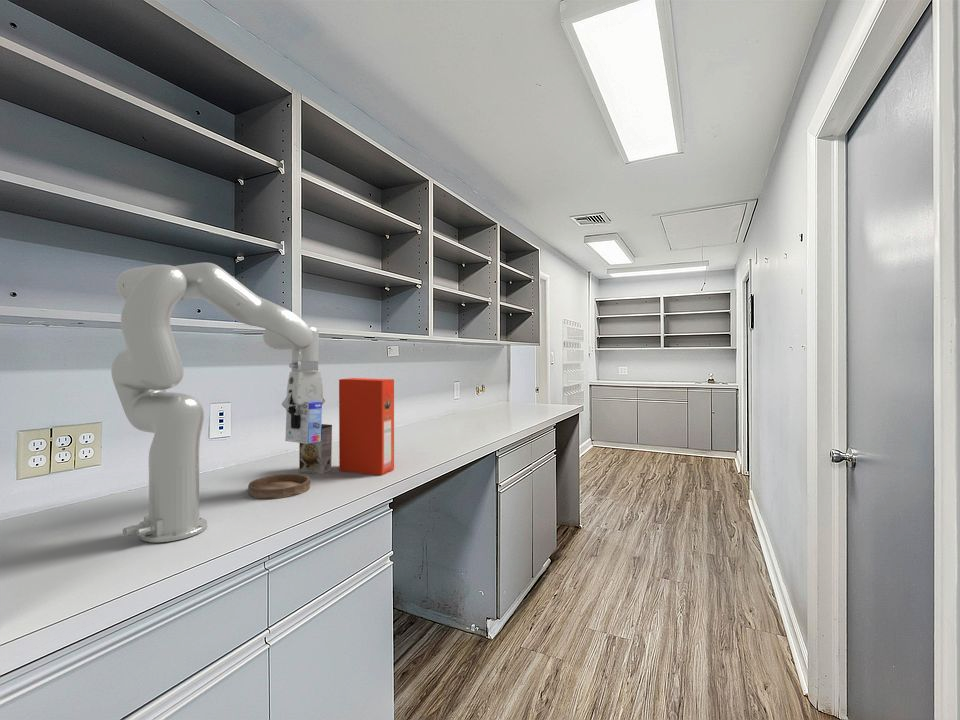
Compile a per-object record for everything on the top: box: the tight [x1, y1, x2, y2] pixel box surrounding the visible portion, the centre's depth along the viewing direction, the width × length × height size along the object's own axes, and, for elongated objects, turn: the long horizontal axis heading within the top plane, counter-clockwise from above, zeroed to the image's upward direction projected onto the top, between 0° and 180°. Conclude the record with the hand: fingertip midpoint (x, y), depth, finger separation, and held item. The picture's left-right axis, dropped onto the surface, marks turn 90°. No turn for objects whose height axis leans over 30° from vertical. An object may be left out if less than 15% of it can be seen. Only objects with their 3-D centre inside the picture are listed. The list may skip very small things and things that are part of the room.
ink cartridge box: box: [284, 401, 323, 444], centre depth 136 cm, size 10×6×14 cm, turn 63°
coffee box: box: [298, 423, 333, 475], centre depth 157 cm, size 9×6×16 cm
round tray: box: [247, 473, 311, 500], centre depth 135 cm, size 17×17×3 cm
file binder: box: [338, 377, 395, 476], centre depth 158 cm, size 8×17×32 cm, turn 70°
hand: (303, 426), depth 137 cm, fingers closed on ink cartridge box, 5 cm apart
